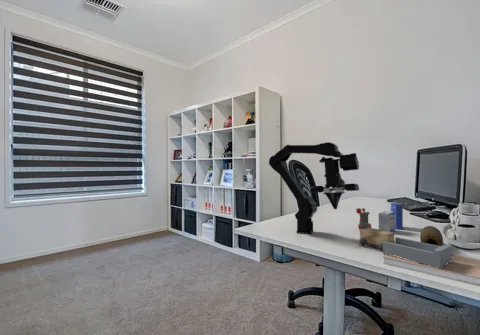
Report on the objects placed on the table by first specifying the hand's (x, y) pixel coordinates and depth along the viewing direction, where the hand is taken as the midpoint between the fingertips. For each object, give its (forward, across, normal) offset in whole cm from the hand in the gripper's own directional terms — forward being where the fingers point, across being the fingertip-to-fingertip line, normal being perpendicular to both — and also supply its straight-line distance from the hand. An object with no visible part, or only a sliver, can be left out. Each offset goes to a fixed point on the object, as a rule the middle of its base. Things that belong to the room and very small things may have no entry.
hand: (335, 209), depth 105 cm
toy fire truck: (+11, -5, -19) cm, 23 cm away
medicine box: (+12, -13, -25) cm, 31 cm away
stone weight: (+14, -30, -10) cm, 35 cm away
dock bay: (+14, -22, +6) cm, 27 cm away
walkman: (+11, -15, -36) cm, 41 cm away
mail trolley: (+14, -15, +4) cm, 21 cm away
